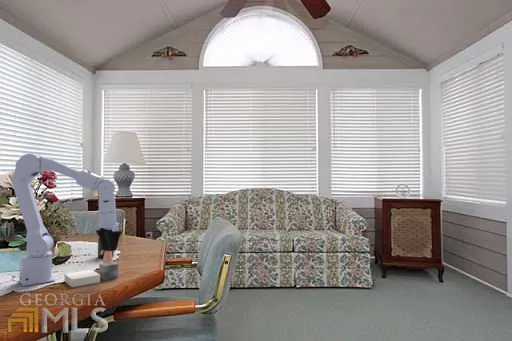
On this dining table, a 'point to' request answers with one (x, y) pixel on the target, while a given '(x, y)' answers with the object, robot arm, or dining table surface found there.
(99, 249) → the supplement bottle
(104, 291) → the dining table surface
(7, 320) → the dining table surface
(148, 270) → the dining table surface
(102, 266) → the slate block
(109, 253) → the grandmother figurine
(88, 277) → the cream base block
